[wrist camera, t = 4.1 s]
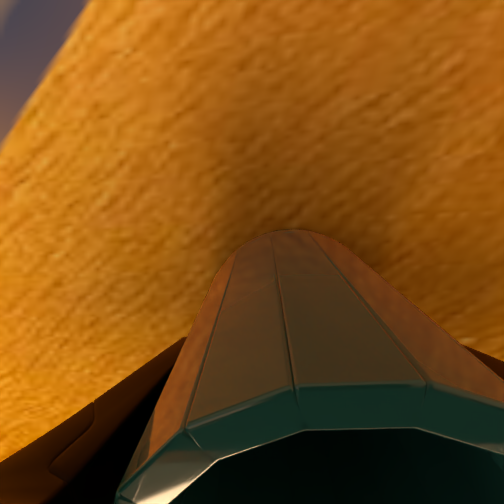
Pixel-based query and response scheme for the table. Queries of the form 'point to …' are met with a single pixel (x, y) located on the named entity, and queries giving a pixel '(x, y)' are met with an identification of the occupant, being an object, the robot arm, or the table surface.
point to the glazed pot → (318, 393)
